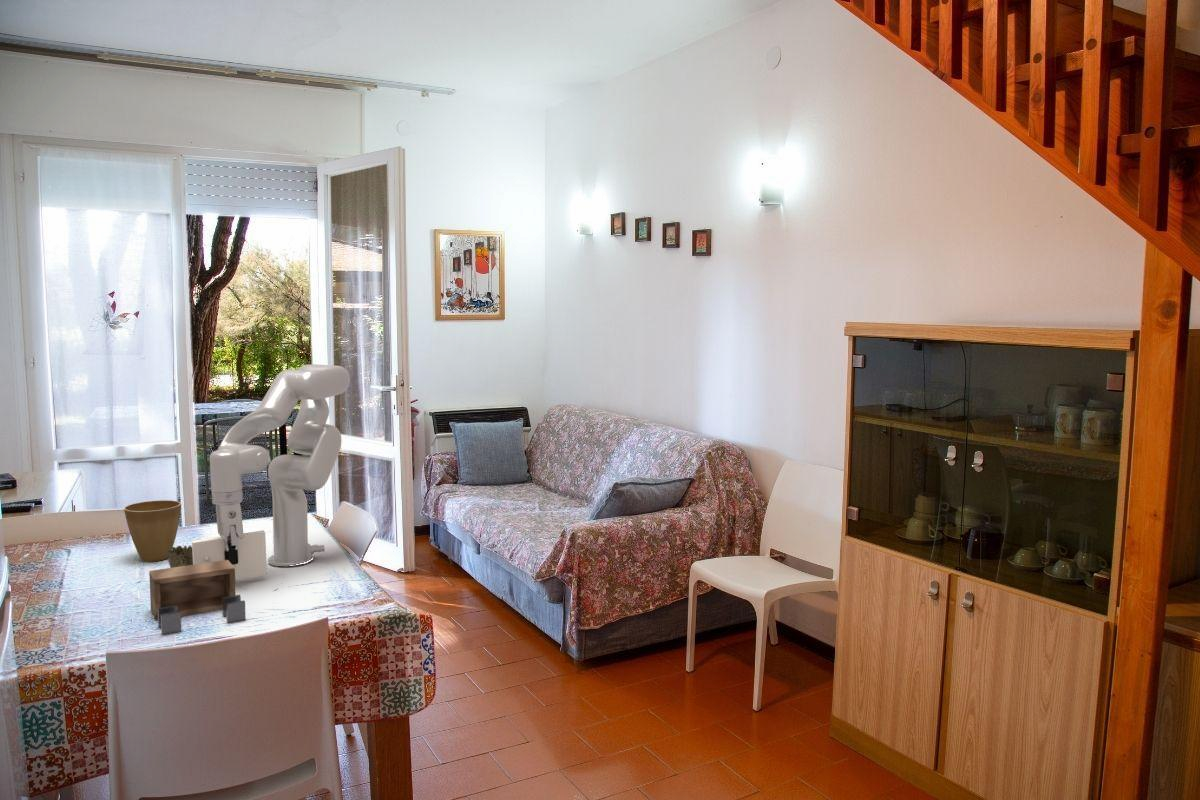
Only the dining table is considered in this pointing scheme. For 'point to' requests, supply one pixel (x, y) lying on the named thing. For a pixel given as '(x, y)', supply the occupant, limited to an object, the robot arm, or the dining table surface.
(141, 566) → the dining table surface
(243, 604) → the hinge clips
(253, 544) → the cabinet door
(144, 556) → the plant pot
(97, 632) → the dining table surface
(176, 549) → the dark textured ornament
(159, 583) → the cabinet body
